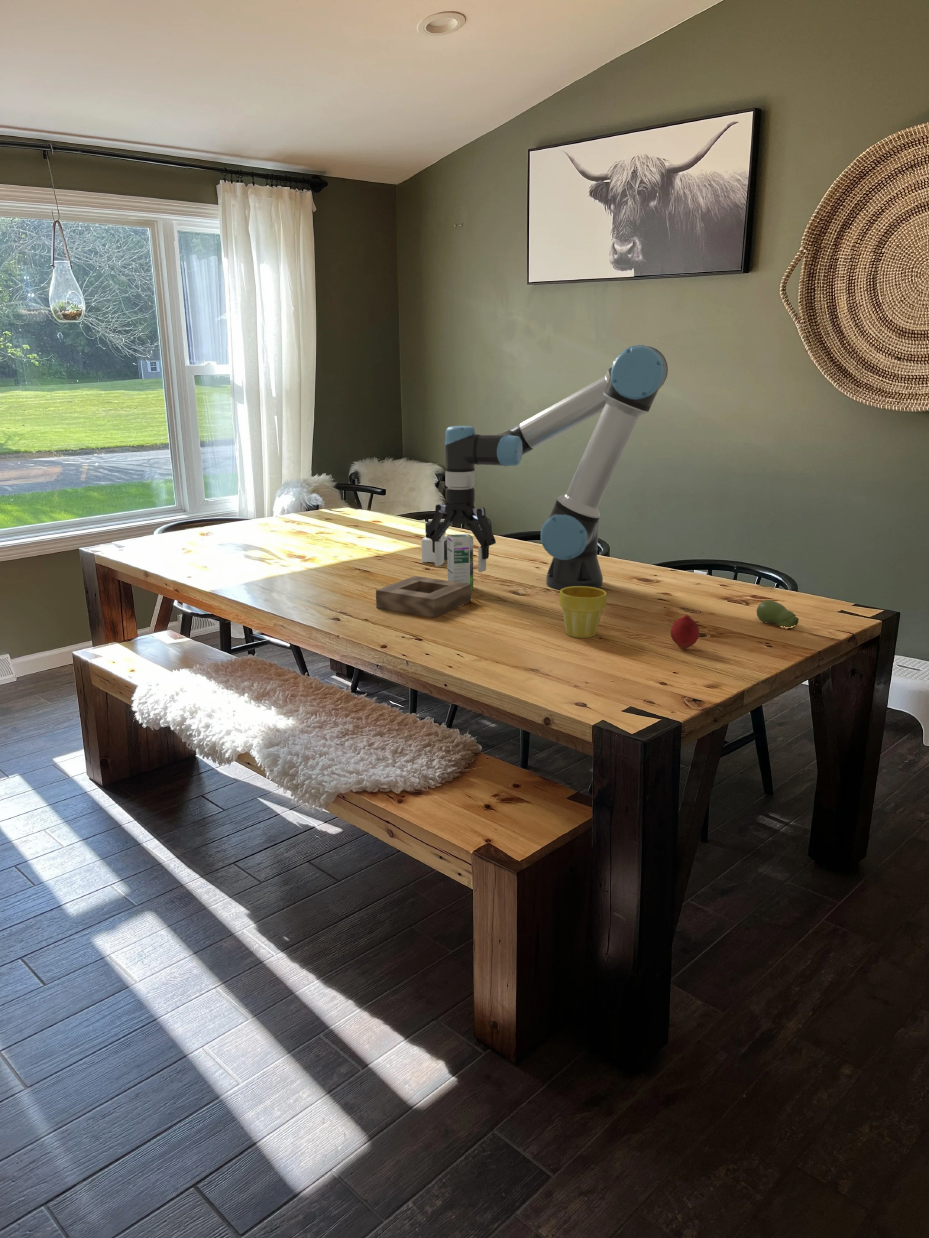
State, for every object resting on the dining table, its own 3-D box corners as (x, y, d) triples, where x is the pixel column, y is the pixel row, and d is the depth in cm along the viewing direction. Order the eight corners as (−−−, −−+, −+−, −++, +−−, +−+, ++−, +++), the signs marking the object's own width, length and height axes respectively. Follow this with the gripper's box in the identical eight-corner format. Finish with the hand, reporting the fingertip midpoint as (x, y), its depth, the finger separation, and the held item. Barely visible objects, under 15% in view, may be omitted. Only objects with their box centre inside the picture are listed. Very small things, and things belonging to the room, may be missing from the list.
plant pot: (612, 631, 201) (614, 589, 198) (594, 643, 192) (596, 599, 190) (569, 624, 206) (571, 583, 203) (550, 636, 197) (551, 593, 195)
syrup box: (452, 592, 234) (452, 537, 230) (447, 586, 240) (446, 533, 235) (473, 590, 236) (473, 536, 231) (467, 585, 241) (467, 532, 237)
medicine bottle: (444, 563, 266) (444, 524, 262) (421, 562, 267) (420, 523, 264) (449, 558, 273) (449, 519, 269) (427, 557, 274) (426, 519, 271)
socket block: (471, 601, 225) (471, 584, 224) (434, 617, 211) (434, 599, 210) (415, 592, 234) (415, 575, 232) (376, 607, 220) (375, 590, 218)
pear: (769, 595, 209) (806, 611, 202) (764, 615, 212) (800, 632, 204) (754, 598, 206) (791, 615, 199) (749, 619, 208) (785, 636, 201)
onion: (693, 644, 191) (696, 609, 189) (701, 653, 186) (704, 616, 184) (666, 645, 191) (668, 609, 189) (673, 653, 186) (676, 616, 183)
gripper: (509, 489, 227) (508, 570, 233) (427, 482, 239) (428, 559, 245) (494, 492, 221) (494, 576, 227) (412, 485, 233) (413, 565, 239)
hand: (460, 568), depth 236 cm, fingers open, 13 cm apart
